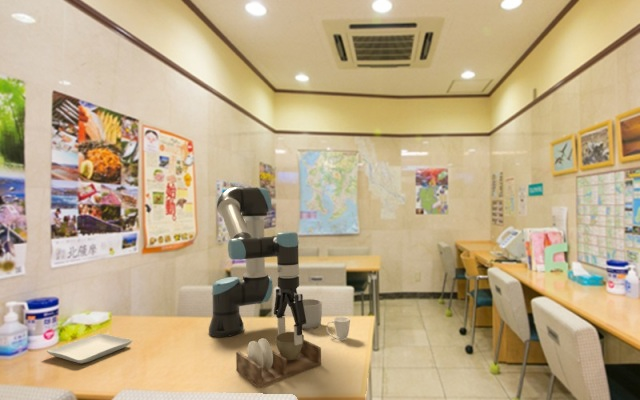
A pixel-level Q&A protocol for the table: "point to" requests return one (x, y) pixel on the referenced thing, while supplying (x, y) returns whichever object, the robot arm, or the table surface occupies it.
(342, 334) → the cup
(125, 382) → the table surface
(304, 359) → the rack
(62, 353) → the salad plate
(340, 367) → the table surface
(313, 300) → the planter
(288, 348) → the flower pot
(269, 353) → the plates
